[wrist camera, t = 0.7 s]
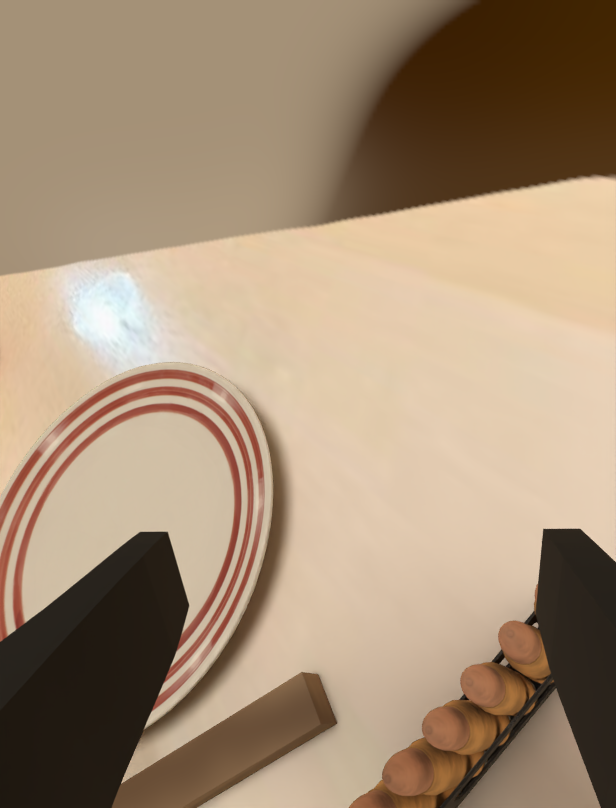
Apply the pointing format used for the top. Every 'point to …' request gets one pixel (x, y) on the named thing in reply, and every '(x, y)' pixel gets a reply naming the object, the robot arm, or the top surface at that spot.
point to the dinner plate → (145, 503)
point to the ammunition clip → (469, 726)
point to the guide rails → (233, 748)
